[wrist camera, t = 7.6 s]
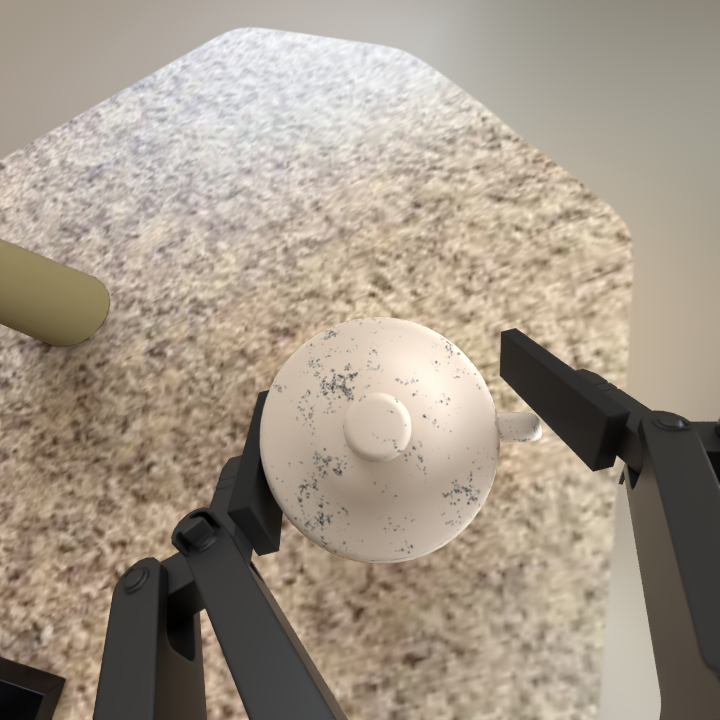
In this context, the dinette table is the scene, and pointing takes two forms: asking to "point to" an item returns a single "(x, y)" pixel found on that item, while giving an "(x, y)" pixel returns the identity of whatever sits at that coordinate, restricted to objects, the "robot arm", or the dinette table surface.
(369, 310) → the dinette table surface
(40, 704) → the black lever base
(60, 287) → the olive green pawn
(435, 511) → the teacup with lid
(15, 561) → the dinette table surface
